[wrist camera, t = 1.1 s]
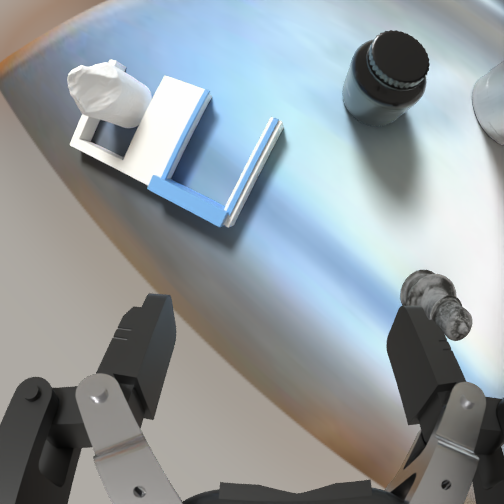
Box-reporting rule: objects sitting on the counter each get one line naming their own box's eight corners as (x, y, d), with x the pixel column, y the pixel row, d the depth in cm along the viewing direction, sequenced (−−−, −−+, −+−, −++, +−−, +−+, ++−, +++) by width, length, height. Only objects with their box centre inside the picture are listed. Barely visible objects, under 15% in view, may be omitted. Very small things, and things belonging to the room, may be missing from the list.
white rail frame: (119, 65, 34) (105, 56, 31) (283, 127, 32) (281, 119, 29) (80, 148, 37) (63, 145, 33) (232, 227, 35) (224, 230, 32)
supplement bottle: (329, 87, 31) (338, 36, 19) (377, 62, 30) (404, 8, 18) (365, 139, 31) (394, 109, 20) (413, 112, 30) (457, 75, 18)
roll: (83, 109, 23) (43, 106, 24) (144, 131, 35) (108, 126, 36) (104, 47, 22) (63, 50, 23) (158, 84, 34) (121, 81, 34)
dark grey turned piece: (392, 315, 34) (426, 364, 22) (403, 263, 33) (447, 294, 21) (437, 319, 33) (482, 365, 21) (448, 270, 32) (502, 300, 20)
